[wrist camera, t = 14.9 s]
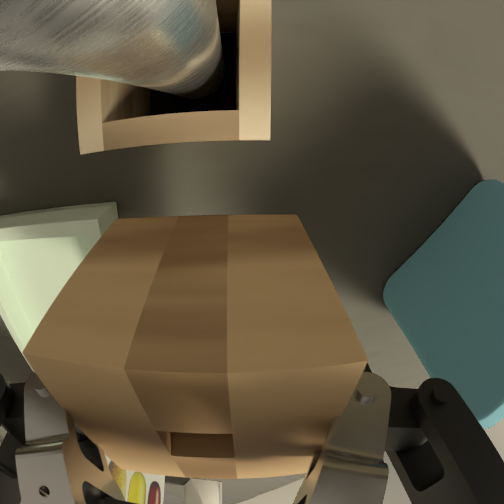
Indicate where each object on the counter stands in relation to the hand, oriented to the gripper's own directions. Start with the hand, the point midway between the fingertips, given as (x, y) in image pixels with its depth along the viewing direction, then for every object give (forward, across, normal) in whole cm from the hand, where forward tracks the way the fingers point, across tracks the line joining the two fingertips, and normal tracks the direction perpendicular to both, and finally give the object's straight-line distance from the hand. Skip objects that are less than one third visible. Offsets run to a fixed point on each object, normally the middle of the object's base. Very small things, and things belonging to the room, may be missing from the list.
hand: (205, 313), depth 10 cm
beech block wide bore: (+7, +1, -8) cm, 11 cm away
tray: (+7, +11, +5) cm, 14 cm away
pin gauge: (+7, +1, -8) cm, 11 cm away
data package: (+7, -16, +2) cm, 18 cm away
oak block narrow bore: (+1, 0, 0) cm, 1 cm away
